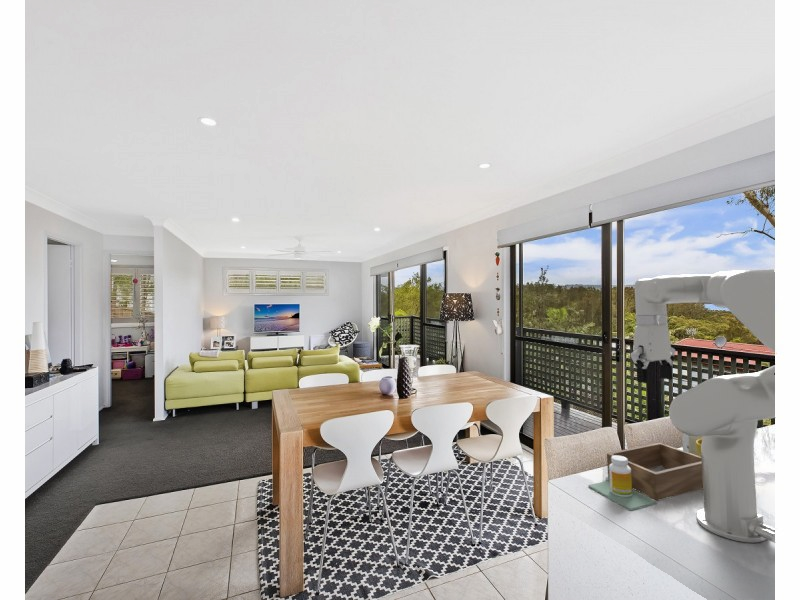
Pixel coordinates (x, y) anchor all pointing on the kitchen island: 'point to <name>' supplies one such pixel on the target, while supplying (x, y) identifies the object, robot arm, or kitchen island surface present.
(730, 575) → the kitchen island surface
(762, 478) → the kitchen island surface
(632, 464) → the box
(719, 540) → the kitchen island surface
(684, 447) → the skincare box
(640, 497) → the mat
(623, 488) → the supplement bottle
